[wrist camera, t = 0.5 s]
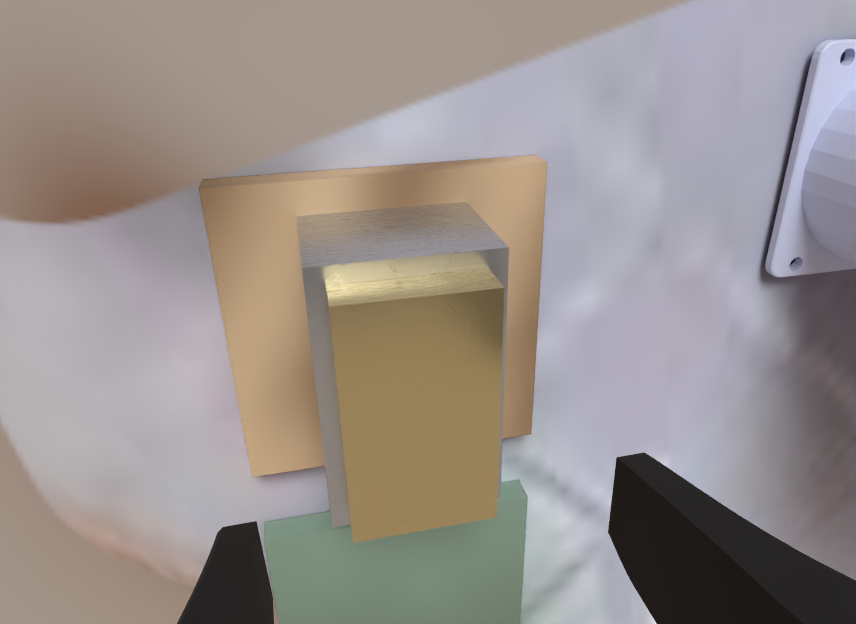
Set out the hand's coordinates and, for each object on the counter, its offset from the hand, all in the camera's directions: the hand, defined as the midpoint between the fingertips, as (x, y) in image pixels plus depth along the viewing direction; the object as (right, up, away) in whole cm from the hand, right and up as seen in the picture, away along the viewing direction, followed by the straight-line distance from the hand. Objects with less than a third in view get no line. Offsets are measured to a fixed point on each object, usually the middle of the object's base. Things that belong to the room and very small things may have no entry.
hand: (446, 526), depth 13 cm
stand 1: (-2, +4, +9) cm, 10 cm away
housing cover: (-1, +2, +4) cm, 5 cm away
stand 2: (-1, -8, +14) cm, 16 cm away
